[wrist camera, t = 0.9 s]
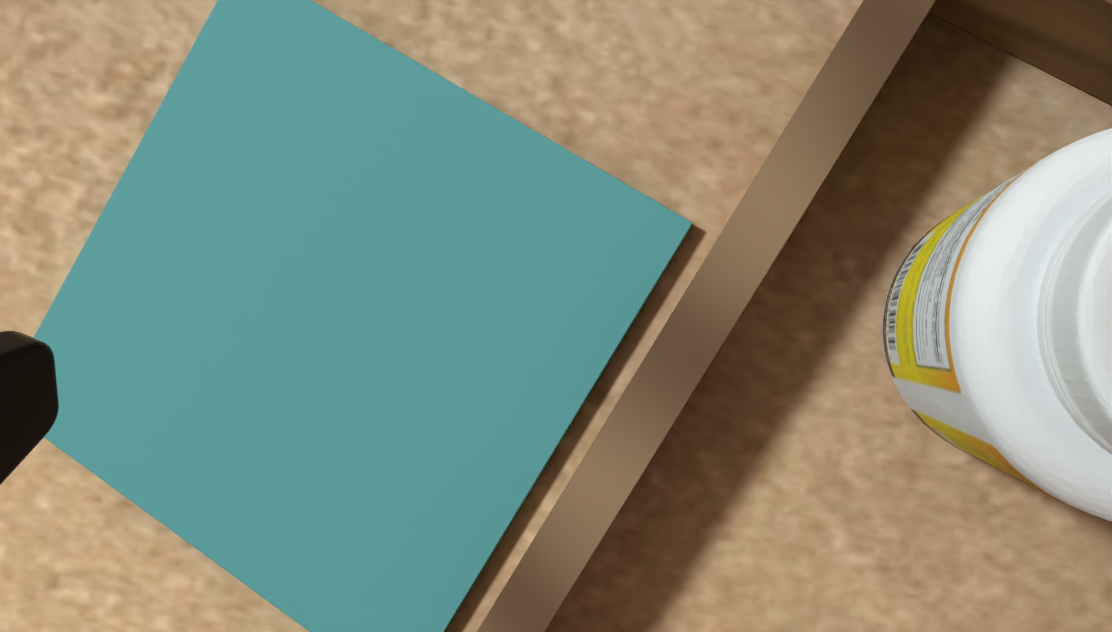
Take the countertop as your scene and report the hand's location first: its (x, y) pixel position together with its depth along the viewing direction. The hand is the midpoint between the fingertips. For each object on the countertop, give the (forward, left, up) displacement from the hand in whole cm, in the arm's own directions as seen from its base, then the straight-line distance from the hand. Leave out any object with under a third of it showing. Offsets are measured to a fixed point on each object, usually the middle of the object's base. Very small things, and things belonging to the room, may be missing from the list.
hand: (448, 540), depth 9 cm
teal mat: (+3, +7, -13) cm, 15 cm away
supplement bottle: (+2, -8, -13) cm, 16 cm away
